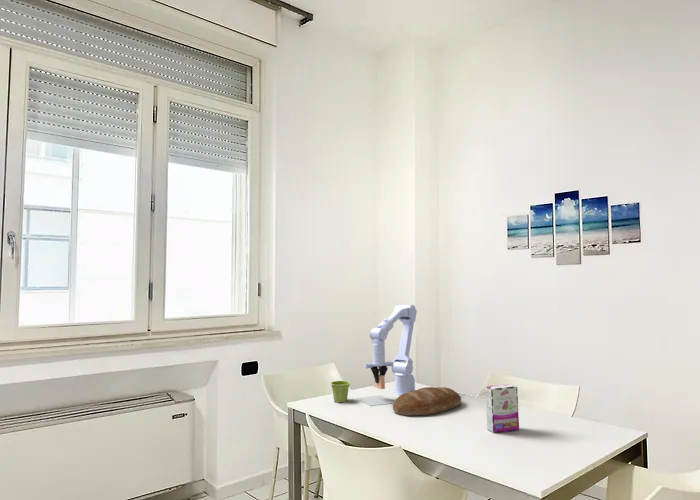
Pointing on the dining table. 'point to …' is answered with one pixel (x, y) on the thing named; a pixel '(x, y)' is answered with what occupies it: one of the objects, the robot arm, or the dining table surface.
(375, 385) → the tile
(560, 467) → the dining table surface
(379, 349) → the robot arm
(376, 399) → the mat
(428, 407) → the bread
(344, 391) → the plant pot
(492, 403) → the candy bar box
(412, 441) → the dining table surface
